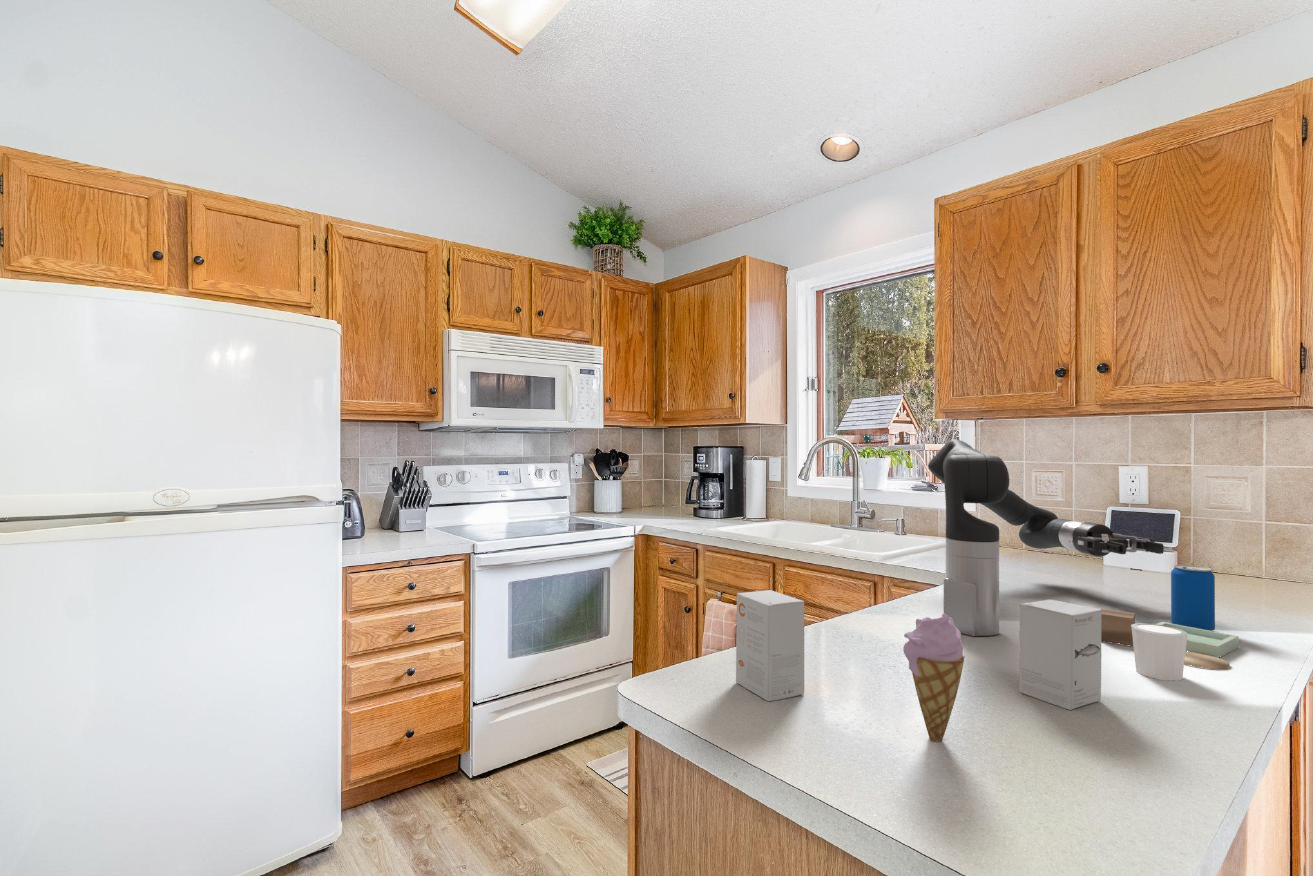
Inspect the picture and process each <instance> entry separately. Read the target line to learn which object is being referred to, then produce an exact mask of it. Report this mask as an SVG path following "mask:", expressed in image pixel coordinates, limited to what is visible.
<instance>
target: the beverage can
mask: <svg viewBox="0 0 1313 876" xmlns="http://www.w3.org/2000/svg"><path fill="white" fill-rule="evenodd" d="M1173 567H1174V568H1173V569H1172V570H1171V571H1170V609H1171V610H1170V614H1171V615H1170V618H1171V619H1170V621H1171V622H1170V623H1171V624H1177V625H1182V626H1187V627H1193V628H1198V629H1203V630H1209V631H1214V630H1215V629H1216V612H1215V611H1216V591H1215V590H1216V586H1215V585H1216V583H1215V582H1216V581H1215V580H1216V578H1215V574H1214V573H1213V571H1212V568H1209V567H1205V566H1202V565H1201V566H1199V565H1192V564H1191V565H1190V564H1175V565H1173Z"/></svg>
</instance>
